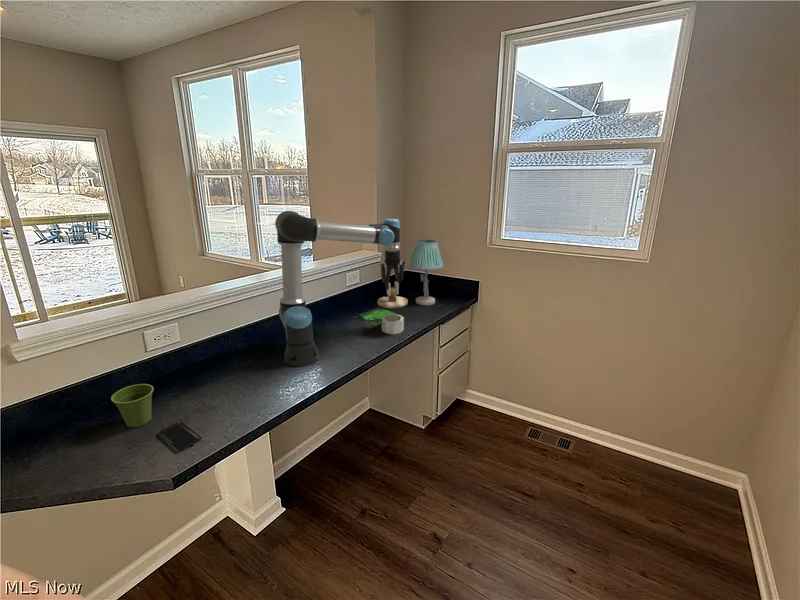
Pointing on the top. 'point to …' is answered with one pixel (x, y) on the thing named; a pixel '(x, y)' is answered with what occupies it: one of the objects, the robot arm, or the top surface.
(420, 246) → the table lamp
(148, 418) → the plant pot
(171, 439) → the phone
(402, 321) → the cup
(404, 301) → the lid
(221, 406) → the top surface
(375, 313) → the mouse mat
